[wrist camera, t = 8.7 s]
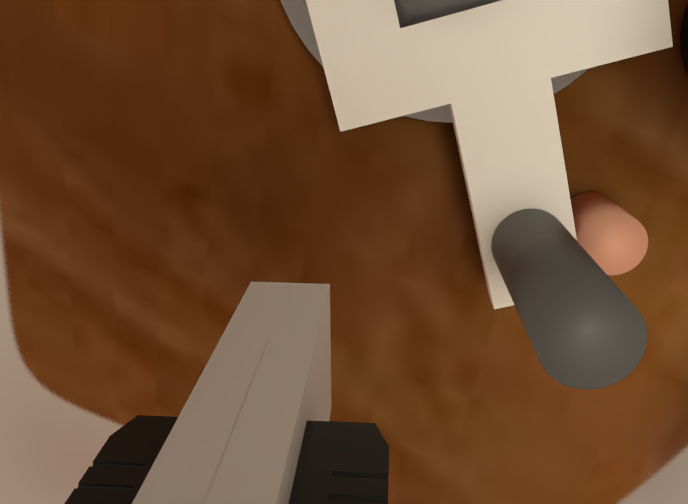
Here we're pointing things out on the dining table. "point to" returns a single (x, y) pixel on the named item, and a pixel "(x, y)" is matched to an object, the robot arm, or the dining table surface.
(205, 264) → the dining table surface
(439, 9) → the base
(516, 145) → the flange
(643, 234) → the dowel
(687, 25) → the cup
